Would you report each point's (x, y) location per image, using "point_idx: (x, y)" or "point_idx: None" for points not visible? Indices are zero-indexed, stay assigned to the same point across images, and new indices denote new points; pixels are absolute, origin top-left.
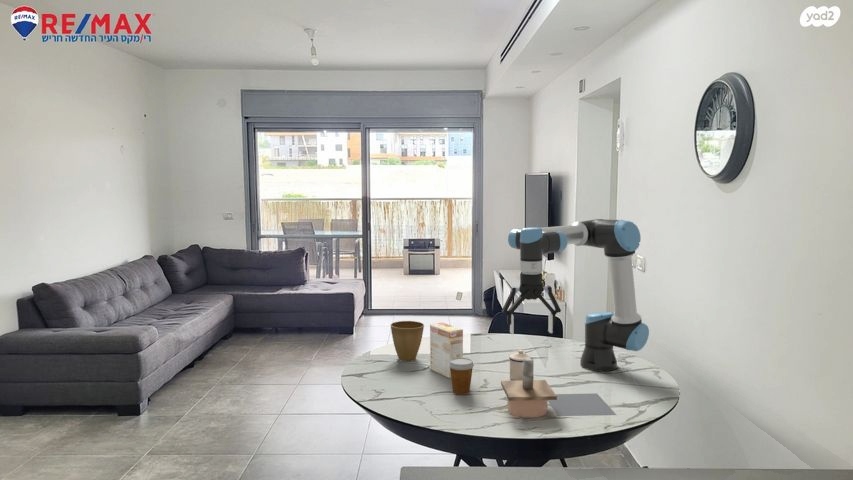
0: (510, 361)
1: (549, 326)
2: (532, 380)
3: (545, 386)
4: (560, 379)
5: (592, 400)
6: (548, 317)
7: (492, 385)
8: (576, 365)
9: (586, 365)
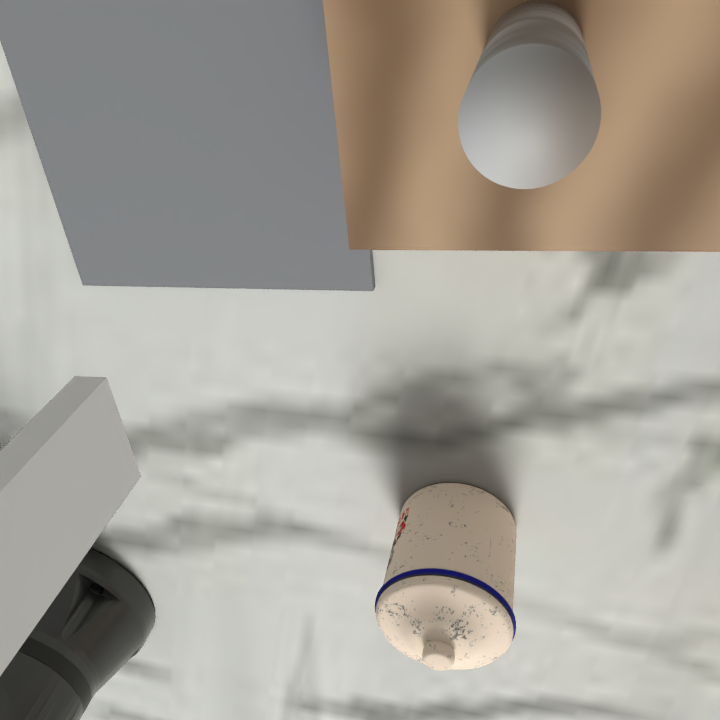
0: (511, 606)
1: (71, 492)
2: (494, 32)
3: (369, 101)
4: (255, 486)
5: (105, 184)
6: (3, 667)
7: (648, 461)
8: (172, 611)
9: (124, 586)
